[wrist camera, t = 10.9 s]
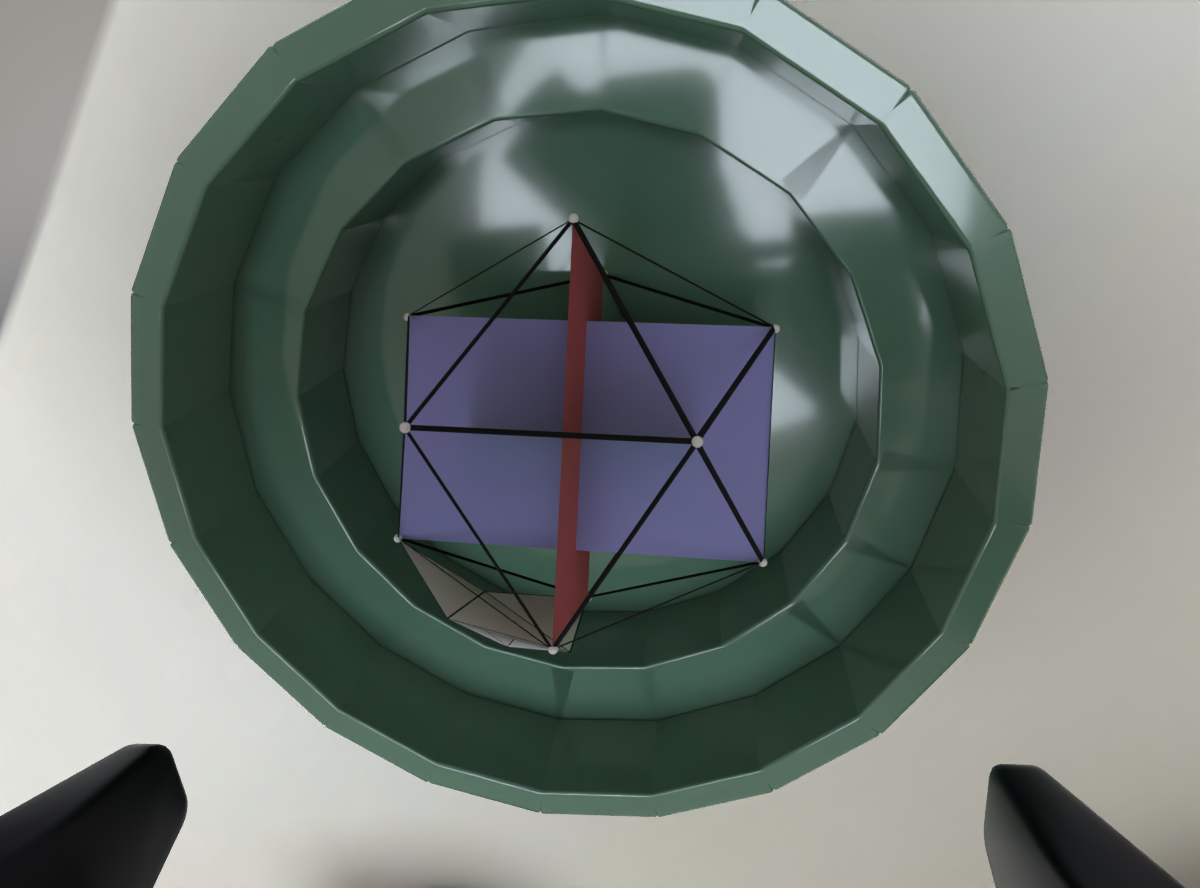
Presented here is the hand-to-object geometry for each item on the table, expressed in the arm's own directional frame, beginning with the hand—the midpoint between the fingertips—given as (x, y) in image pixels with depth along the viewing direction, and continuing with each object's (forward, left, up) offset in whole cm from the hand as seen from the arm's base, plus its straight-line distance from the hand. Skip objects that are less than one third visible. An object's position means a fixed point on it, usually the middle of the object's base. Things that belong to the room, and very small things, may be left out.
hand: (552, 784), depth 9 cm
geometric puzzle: (+1, -2, -10) cm, 10 cm away
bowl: (+1, -1, -11) cm, 11 cm away
